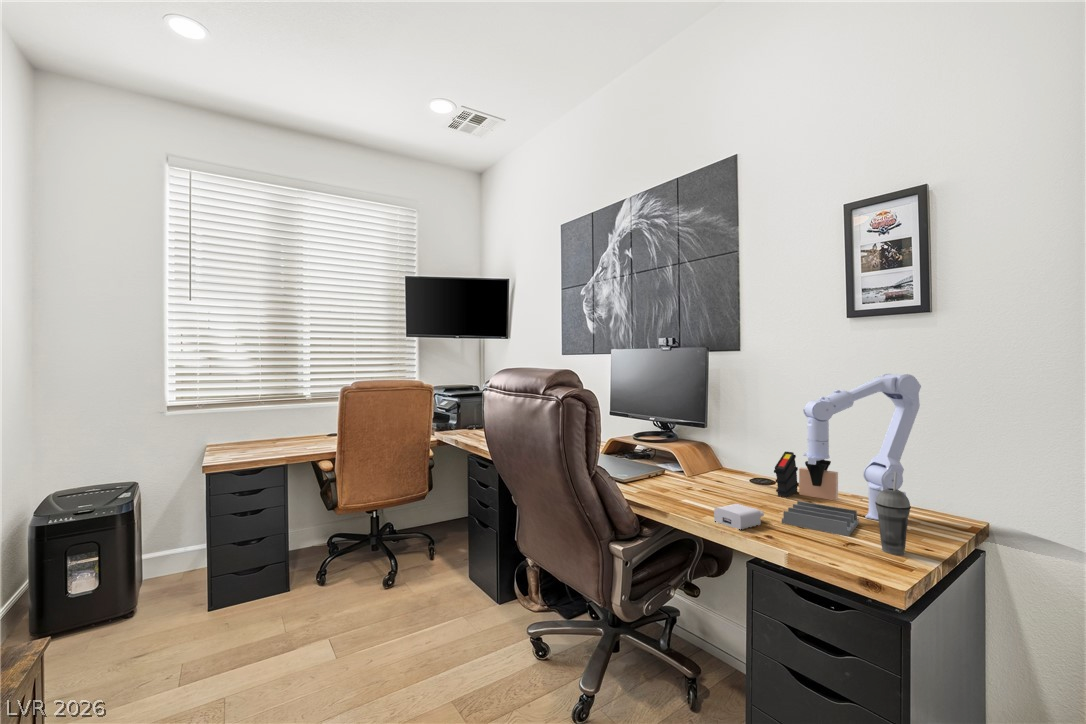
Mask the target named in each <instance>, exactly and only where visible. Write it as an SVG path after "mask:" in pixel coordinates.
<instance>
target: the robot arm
mask: <svg viewBox="0 0 1086 724" xmlns="http://www.w3.org/2000/svg"><path fill="white" fill-rule="evenodd" d="M921 389H922V385H921V383H920V381H919V380H918V379H917V378H916V376H914V375H913V374H909V373H907V374H906V373H905V374H897V373H896V374H893V373H884V374H883V375H880V376H876V377H874V378H872V379H870V380H868V381H866V382H865V383H863V384H860V385H859V386H856V387H854V388H852V389H850V390H848V391H847V390H845V389H835V390H833V391H832V393H831V394H828V395H826V396H820V397H819V398H818V400H810V401H808V402H807V403H806V404H805V407H804V408H803V410H802V411H803V414H804V416H805V417H806V421H807V424H806V425H807V426H806V429H807V439H806V440H807V442H806V443H807V447H806V448H807V451H806V452H803V454H802V456H804V457H807V460H806V461H805V462H804V465H805V467H806V468H808V470H809V473H810V477H811V481H812V485H813V486H821V484H822V478H823V473H824V470H826V471H828V468H829V467H830V466H831V462H832V461H831V460H828V459H830V450H829V448H830V444H829V443H830V441H829V440H830V439H829V437H830V435H829V430H830V429H829V427H830V426H829V425H830V423H829V422H830V421H829V420H831V418H832V417H833V415H835V414H838V413H840V412H843V411H844V410H848V409H849V408H851V407H853V406H854V403H855V401H858V400H860V399H863V398H866V397H869V396H871V395H875V394H877V393H879V392H880V393H881V394H884V395H885V396H886V397H887V398H888V399H889V400H890V401H891V402H892V403H893V404H894V406H895V409H894V411H893V414H892V416H891V420H890V422H889V424H888V428H887V430H886V432H885V436H884V438H883V441H882V444H881V447H880V449H879V452H878V454H876V455H875V456H873V457H872V458H871V459H870V462H869V463H868V464H867V466H865V467H864V469H863V472H862V473H863V474H862V476H863V478H864V480H865V481H866V482H867V486H868V512H867V514H866V515H864V516H865V517H864V518H865V519H871V520H876V521H879V519H878V512H877V508H876V504H875V502H876V498H877V496H878V494H879V493H880V492H881V491H882V490H884V489H888V488H892V489H893V488H894V476H895V472H897V483H896V489H897V490H900V488H901V487H902V485H903V482H904V477H903V476H904V475H903V474H904V471H905V469H904V467H903V465H902V463H901V459H902V456H903V452H904V451H905V447H906V445H907V443H908V439H909V437H910V435H911V431H912V428H913V425H914V423H915V420H916V418H917V414H918V413H919V409H920V405H921V403H920V394H919V393H920V391H921ZM900 491H901V492H903V493H904V494H905V495H906V496H907V493H906V492H905V491H902V490H900Z"/></svg>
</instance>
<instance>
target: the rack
mask: <svg viewBox="0 0 1086 724" xmlns="http://www.w3.org/2000/svg"><path fill="white" fill-rule="evenodd" d="M796 502H797V503H796V504H795V503H793V504H792V507H789V506H788V507H787V509H788V510H783V512H782V513H783V514H782V515H783V516H782V517H783V518H781V524H783V523H785V524H784V525H788V524H789V526H794V527H798V526H799V527H800V528H805V529H810V530H814V531H820V532H825V533H830V534H833V535H834V534H835V535H840V536H845V537H850V535H851V534H852V533H853V532H854V530H855V529H856V528H857V526H858V525H859V524H860V519H859V518H858V510H854V509H850V508H843V507H838V506H837V507H836V506H832V505H831V506H830V505H825V504H820V503H813V502H806V501H800V500H797V501H796ZM799 527H798V528H799Z"/></svg>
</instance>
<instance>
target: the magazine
mask: <svg viewBox="0 0 1086 724" xmlns="http://www.w3.org/2000/svg"><path fill="white" fill-rule="evenodd" d="M796 457H797V455H796V454H795V453H794V452H793V451H784V453H783V454H782V455H781V457H780V459H779V460H778V462H777V463H776V464H775V466H774V470H773V473H774V474H775V476H776V479H775V483H776V485H777V489H776V490H775V492H776V493H777V496H778V497H780V496H781V497H780V498H785V497H786V498H788V497H791V496H793V495H795V494H796V493H798V487H799V482H798V474H797V473H798V471H799V468H798V466H797V465H796Z"/></svg>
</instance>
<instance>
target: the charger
mask: <svg viewBox="0 0 1086 724" xmlns="http://www.w3.org/2000/svg"><path fill="white" fill-rule="evenodd" d="M764 516H765V514H764V511H762V510H760V509H759V508H756V507H750V506H747V505H743V504H740V503H734V504H729V505H724V506H719V507H715V508H714V509H713V520H714V522H715V521H716V522H718V523H721V524H724V525H727V526H730V527H733V528H737V529H740V530H739V531H742V530H745V529H744V528H746V529H749V528H748V527H750V528H753V527H752V526H754V527H757V526H756V525H758V526H761V519H762V518H761V517H764ZM716 522H715V523H716ZM718 523H717V524H718ZM721 524H720V525H721ZM724 525H723V526H724ZM727 526H726V527H727ZM730 527H729V528H730ZM733 528H732V529H733ZM741 529H742V530H741Z"/></svg>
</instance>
